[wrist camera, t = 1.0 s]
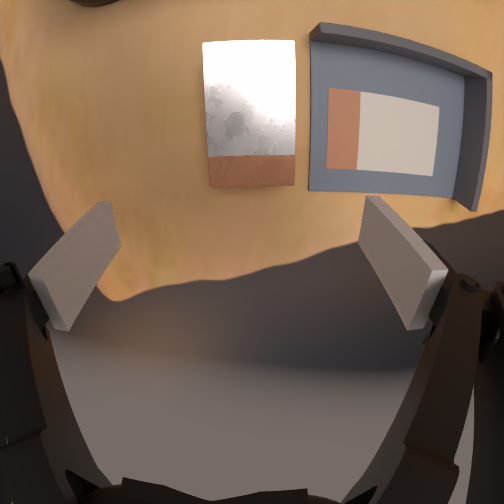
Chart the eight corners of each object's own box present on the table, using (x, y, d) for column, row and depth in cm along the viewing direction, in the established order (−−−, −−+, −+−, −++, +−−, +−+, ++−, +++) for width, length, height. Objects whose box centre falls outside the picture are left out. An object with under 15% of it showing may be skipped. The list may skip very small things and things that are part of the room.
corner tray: (309, 32, 25) (320, 22, 20) (467, 71, 25) (492, 72, 20) (308, 189, 35) (317, 205, 31) (455, 197, 35) (476, 211, 30)
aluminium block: (213, 55, 27) (202, 43, 20) (284, 54, 27) (294, 41, 20) (218, 168, 34) (210, 187, 27) (284, 166, 34) (294, 185, 27)
